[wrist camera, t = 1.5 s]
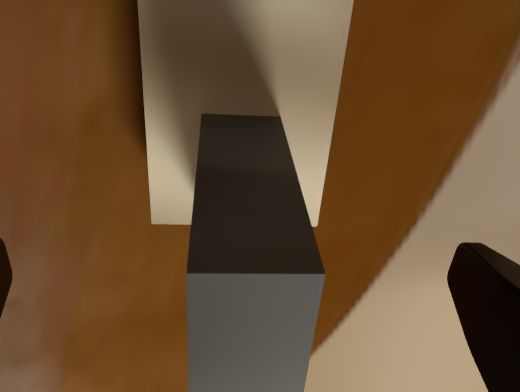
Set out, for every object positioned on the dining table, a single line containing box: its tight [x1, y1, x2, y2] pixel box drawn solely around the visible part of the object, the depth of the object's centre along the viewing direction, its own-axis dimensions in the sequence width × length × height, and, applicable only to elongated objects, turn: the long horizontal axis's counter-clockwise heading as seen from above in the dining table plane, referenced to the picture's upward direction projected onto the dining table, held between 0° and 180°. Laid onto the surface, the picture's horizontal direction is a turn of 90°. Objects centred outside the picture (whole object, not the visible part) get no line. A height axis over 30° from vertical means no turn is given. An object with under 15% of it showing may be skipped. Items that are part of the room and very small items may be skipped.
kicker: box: [137, 0, 354, 392], centre depth 10 cm, size 8×5×7 cm, turn 176°
